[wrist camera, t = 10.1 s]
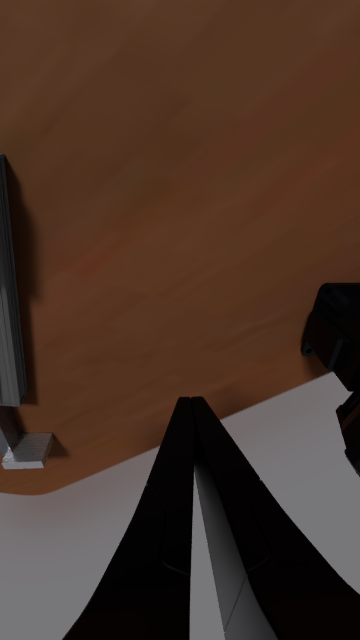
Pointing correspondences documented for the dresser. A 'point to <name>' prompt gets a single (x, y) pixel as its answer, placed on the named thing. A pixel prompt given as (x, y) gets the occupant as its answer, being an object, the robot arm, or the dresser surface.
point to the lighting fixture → (9, 311)
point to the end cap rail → (22, 444)
